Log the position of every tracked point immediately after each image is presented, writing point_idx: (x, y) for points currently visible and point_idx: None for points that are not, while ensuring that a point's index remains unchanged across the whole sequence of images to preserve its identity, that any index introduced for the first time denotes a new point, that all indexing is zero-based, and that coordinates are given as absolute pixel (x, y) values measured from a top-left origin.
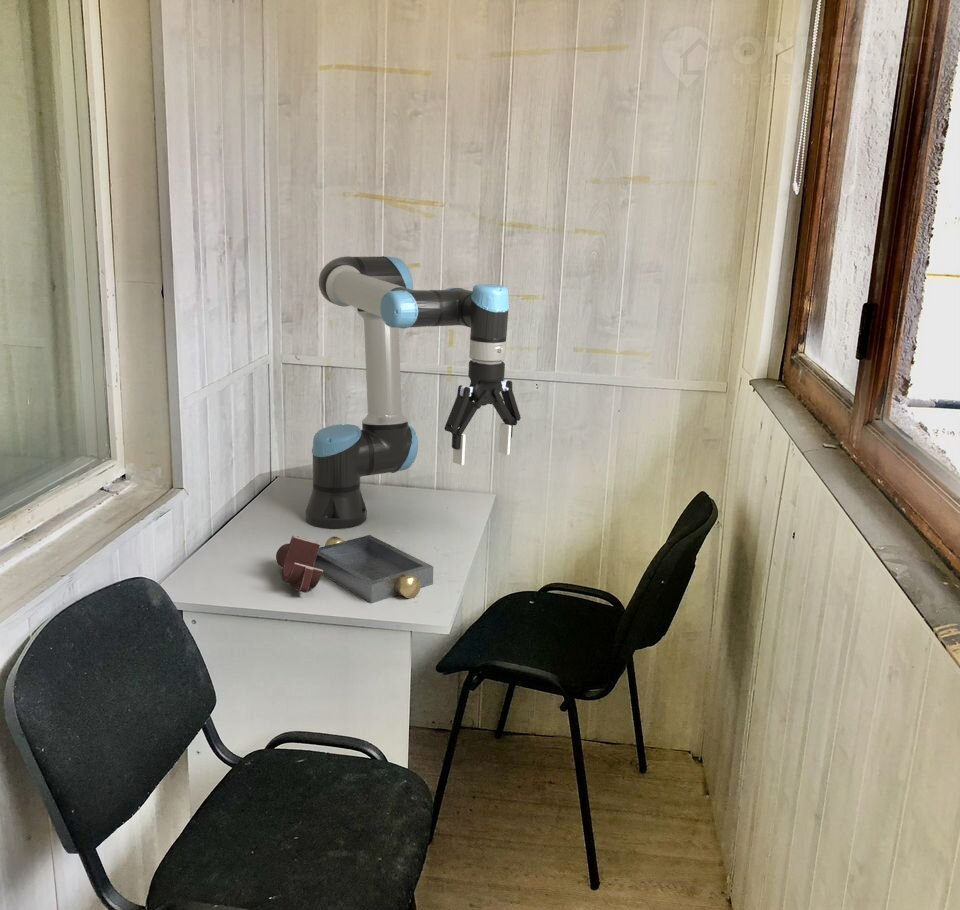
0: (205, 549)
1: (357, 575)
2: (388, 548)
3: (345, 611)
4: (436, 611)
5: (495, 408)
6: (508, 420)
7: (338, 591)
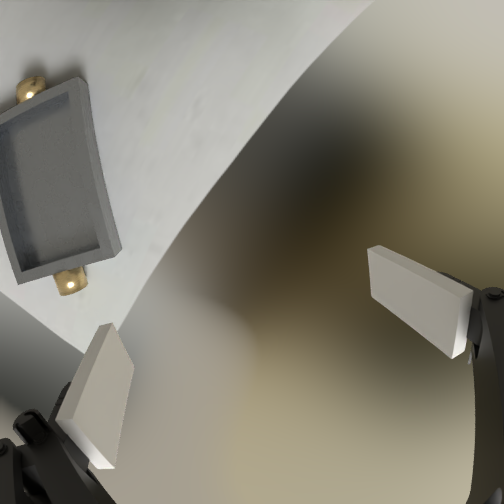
0: None
1: (7, 245)
2: (76, 148)
3: (4, 283)
4: None
5: (498, 392)
6: (474, 366)
7: None
